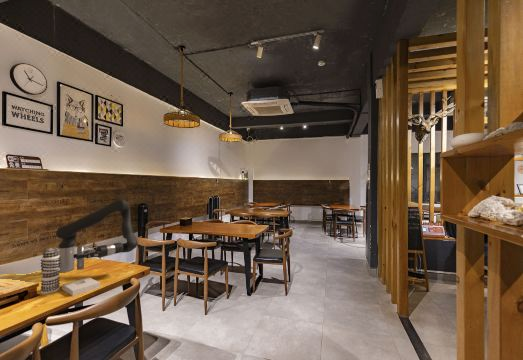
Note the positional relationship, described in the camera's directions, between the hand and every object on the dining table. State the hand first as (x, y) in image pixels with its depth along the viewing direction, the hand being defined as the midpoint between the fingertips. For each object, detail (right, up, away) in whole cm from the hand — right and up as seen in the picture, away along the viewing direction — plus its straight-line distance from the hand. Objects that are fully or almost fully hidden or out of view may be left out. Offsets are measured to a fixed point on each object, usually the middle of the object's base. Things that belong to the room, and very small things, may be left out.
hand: (75, 256), depth 148 cm
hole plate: (+3, -20, +1) cm, 20 cm away
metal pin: (+2, -8, +2) cm, 8 cm away
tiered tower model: (-13, -20, -2) cm, 24 cm away
